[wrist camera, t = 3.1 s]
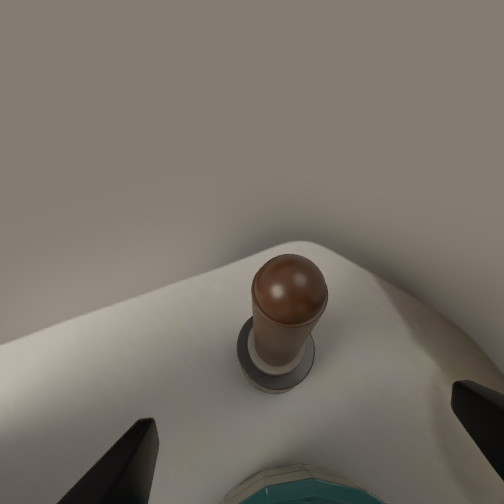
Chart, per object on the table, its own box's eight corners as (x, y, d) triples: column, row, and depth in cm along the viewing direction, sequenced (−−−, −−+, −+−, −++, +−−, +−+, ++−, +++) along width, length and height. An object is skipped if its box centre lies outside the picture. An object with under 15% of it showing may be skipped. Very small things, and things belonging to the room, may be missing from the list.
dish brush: (274, 411, 16) (304, 404, 6) (226, 354, 18) (181, 271, 8) (320, 356, 18) (409, 273, 7) (272, 310, 20) (287, 192, 9)
